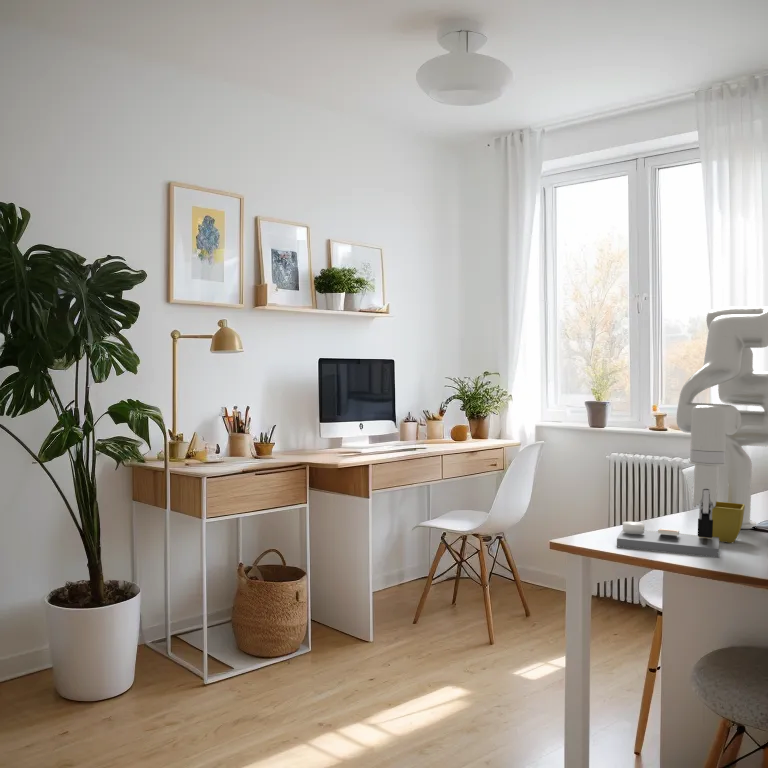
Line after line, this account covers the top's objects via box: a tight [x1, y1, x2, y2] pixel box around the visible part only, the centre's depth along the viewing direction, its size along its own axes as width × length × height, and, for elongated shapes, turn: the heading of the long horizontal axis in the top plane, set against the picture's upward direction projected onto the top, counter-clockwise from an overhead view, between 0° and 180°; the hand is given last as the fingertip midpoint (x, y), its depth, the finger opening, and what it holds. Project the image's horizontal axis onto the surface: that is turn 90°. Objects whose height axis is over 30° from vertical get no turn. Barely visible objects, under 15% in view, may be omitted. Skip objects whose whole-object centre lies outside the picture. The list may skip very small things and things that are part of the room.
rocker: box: [657, 528, 680, 535], centre depth 183 cm, size 6×4×1 cm
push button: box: [622, 521, 646, 534], centre depth 186 cm, size 5×5×2 cm
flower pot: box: [710, 501, 745, 544], centre depth 191 cm, size 9×9×9 cm
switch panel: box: [616, 529, 720, 559], centre depth 183 cm, size 14×22×3 cm, turn 66°
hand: (705, 536), depth 180 cm, fingers closed
